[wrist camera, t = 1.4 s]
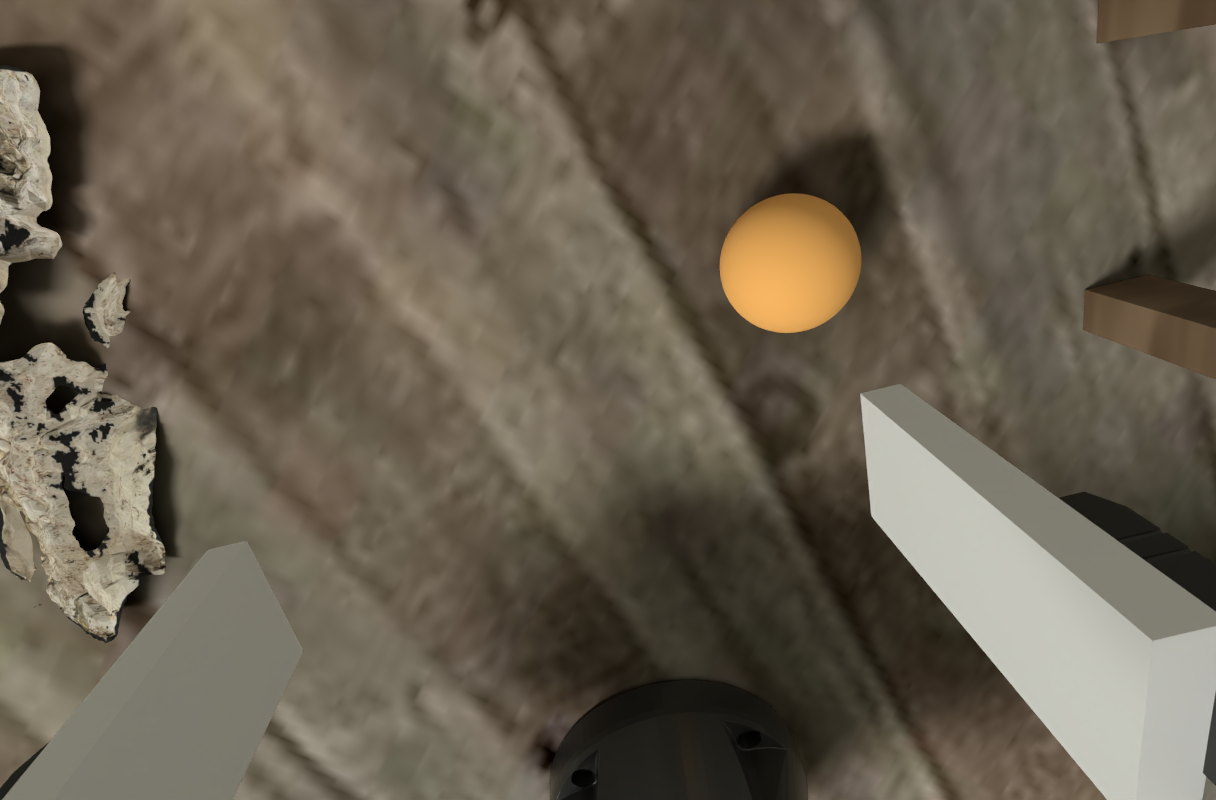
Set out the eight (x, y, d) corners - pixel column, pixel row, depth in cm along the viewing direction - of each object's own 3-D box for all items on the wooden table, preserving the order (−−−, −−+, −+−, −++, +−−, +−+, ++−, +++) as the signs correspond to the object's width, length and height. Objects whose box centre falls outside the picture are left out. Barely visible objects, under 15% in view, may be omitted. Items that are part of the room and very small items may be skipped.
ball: (835, 297, 31) (891, 330, 26) (717, 326, 31) (750, 364, 26) (822, 174, 29) (881, 183, 24) (697, 205, 29) (728, 220, 24)
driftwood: (-308, 61, 22) (-374, 60, 19) (75, 50, 28) (81, 47, 24) (29, 625, 34) (28, 691, 30) (250, 539, 39) (272, 586, 36)
